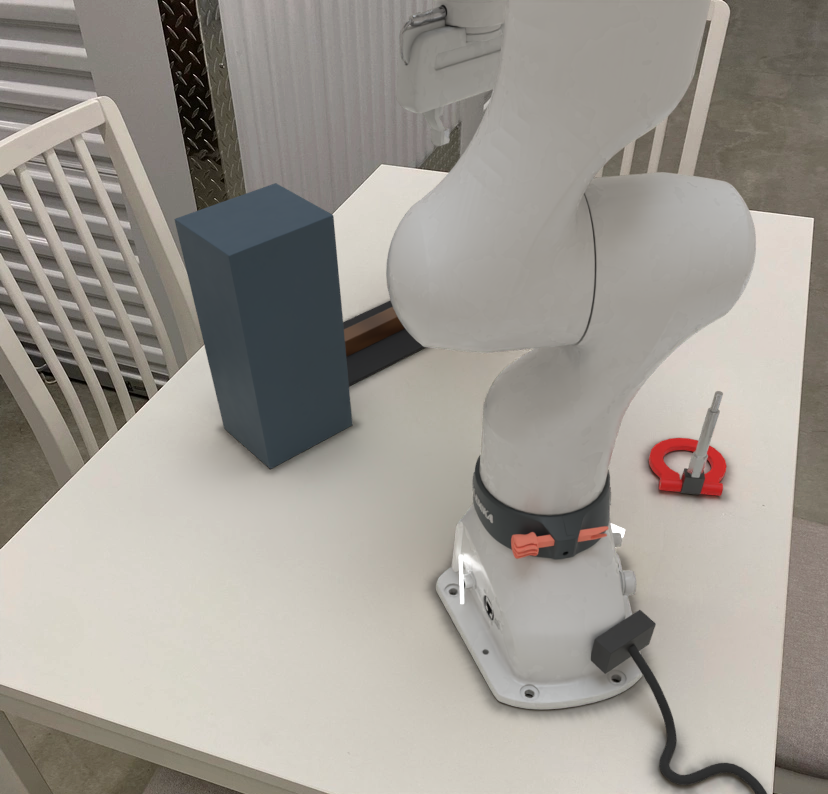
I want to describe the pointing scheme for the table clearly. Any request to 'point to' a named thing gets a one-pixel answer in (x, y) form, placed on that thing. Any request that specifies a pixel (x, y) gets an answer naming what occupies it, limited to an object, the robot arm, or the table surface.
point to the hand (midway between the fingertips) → (469, 133)
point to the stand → (270, 319)
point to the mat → (378, 349)
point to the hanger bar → (371, 331)
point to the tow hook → (692, 460)
